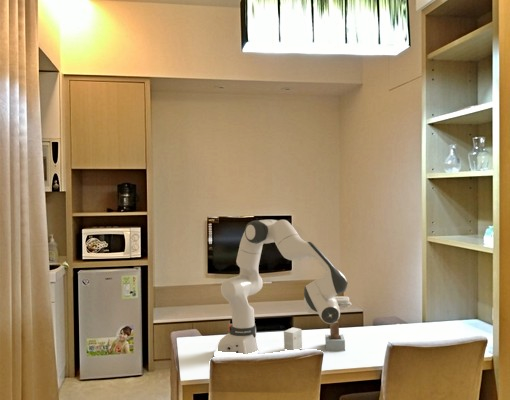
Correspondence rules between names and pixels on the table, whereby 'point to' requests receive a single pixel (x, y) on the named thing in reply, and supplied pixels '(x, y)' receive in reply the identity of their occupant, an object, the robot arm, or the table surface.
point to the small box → (293, 339)
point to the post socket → (335, 343)
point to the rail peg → (334, 330)
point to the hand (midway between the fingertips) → (325, 297)
